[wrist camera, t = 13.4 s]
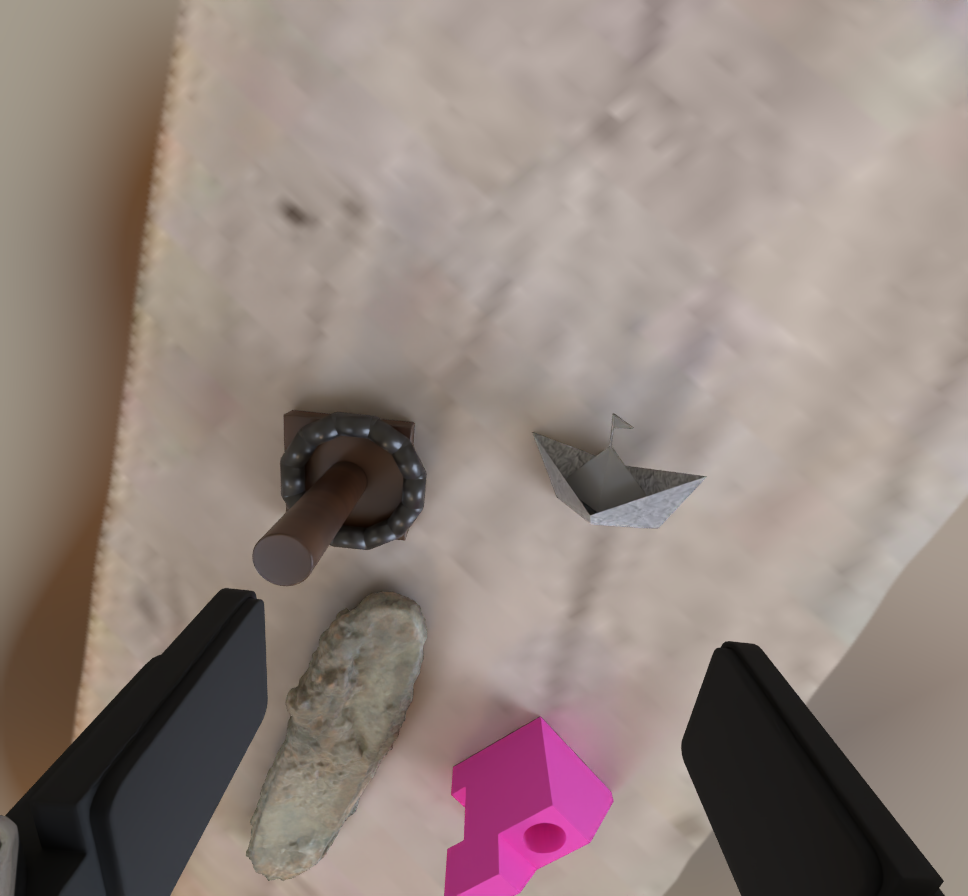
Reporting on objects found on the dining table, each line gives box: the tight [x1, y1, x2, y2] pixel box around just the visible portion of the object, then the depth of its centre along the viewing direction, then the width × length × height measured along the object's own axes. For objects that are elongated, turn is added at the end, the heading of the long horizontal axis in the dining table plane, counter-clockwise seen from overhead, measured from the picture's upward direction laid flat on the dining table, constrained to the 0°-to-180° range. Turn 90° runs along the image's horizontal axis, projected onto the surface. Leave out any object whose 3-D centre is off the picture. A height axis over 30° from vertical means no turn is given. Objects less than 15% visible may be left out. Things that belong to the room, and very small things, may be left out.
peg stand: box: [253, 410, 415, 586], centre depth 28 cm, size 9×9×12 cm
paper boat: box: [532, 414, 707, 528], centre depth 31 cm, size 12×6×9 cm
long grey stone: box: [246, 591, 427, 881], centre depth 40 cm, size 35×5×10 cm
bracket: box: [444, 717, 613, 896], centre depth 39 cm, size 12×10×10 cm
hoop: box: [280, 412, 426, 550], centre depth 32 cm, size 10×10×2 cm
